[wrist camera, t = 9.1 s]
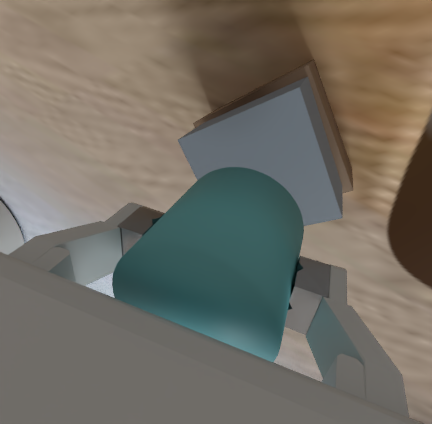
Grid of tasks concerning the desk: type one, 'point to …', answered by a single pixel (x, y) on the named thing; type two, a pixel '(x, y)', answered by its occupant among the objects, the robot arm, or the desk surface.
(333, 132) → the walnut base block
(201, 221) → the teal cylinder
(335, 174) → the slate-grey upper block
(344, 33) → the desk surface
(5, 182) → the desk surface
